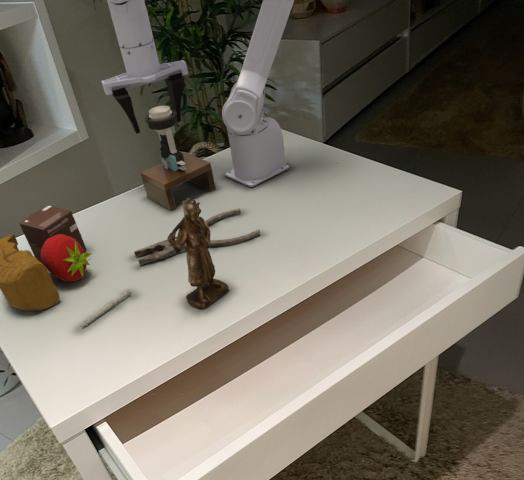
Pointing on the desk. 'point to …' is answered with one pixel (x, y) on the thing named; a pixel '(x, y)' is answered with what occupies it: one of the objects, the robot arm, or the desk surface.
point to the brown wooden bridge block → (176, 179)
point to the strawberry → (64, 258)
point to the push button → (166, 136)
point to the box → (49, 228)
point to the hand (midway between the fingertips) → (157, 125)
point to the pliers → (169, 249)
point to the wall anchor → (104, 309)
